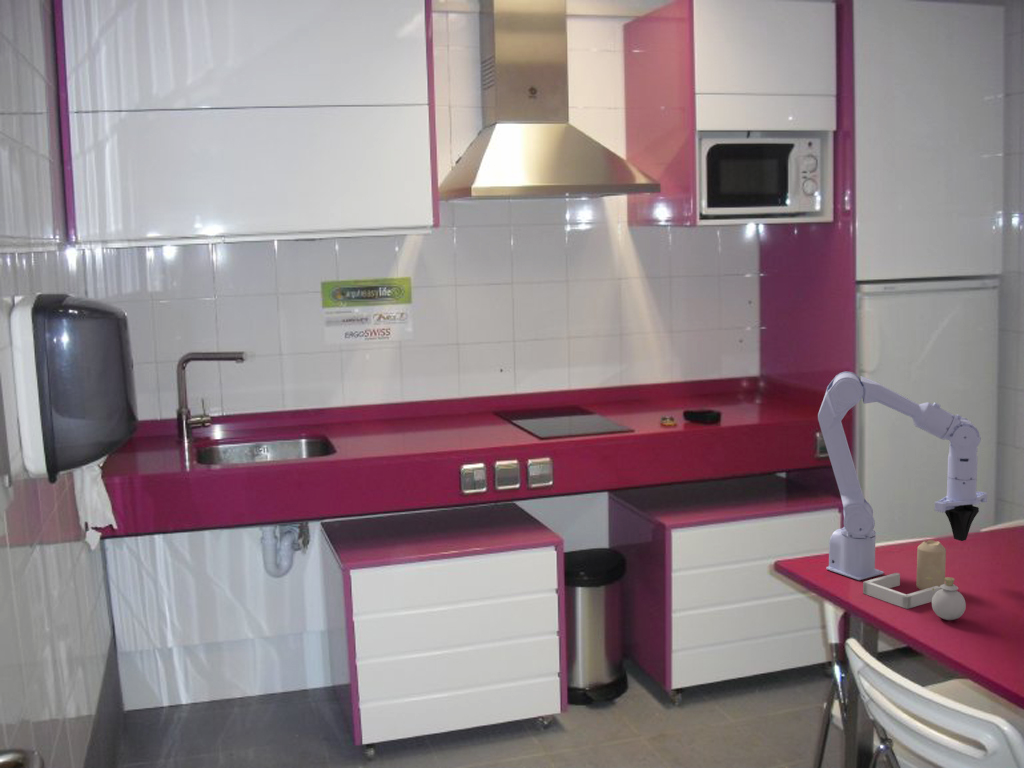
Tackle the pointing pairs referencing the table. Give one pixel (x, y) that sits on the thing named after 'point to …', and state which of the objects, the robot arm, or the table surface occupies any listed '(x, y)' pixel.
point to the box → (882, 592)
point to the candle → (930, 564)
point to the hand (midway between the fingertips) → (960, 539)
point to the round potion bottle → (948, 600)
